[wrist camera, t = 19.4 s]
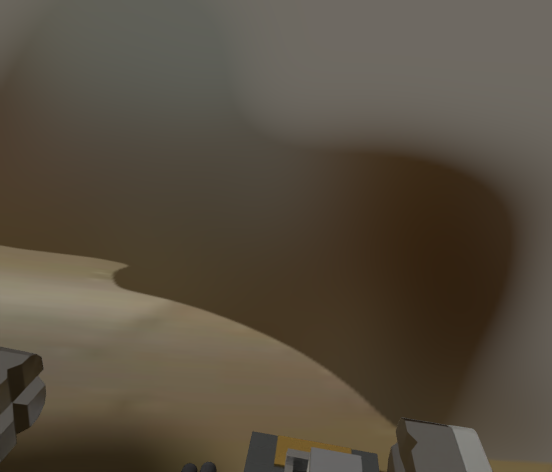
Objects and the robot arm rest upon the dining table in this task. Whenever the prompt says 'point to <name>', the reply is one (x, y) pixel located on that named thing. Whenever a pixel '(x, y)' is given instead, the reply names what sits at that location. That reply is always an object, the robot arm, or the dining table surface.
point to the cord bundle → (207, 468)
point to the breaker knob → (333, 461)
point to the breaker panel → (293, 454)
